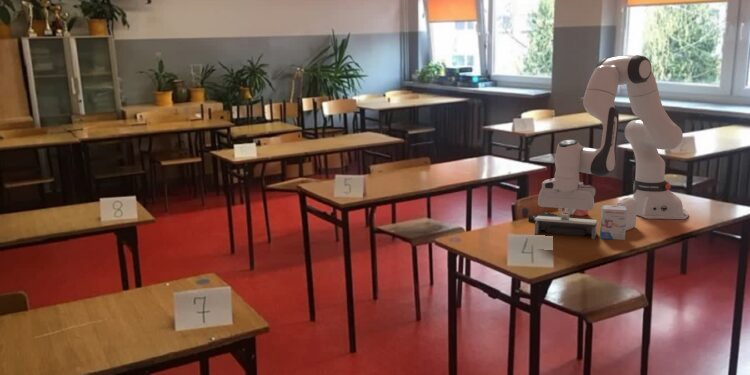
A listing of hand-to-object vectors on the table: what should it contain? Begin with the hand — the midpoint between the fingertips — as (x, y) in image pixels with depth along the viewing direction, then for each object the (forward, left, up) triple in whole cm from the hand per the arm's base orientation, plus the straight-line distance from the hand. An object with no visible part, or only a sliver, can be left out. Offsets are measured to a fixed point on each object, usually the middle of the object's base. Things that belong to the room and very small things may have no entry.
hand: (564, 219), depth 241 cm
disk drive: (+7, -16, -7) cm, 19 cm away
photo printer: (-21, -15, -7) cm, 27 cm away
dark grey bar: (0, -2, -5) cm, 5 cm away
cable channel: (0, -2, -6) cm, 7 cm away
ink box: (-17, -3, -7) cm, 19 cm away
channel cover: (0, -1, -1) cm, 2 cm away
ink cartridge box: (-1, -32, -7) cm, 33 cm away
